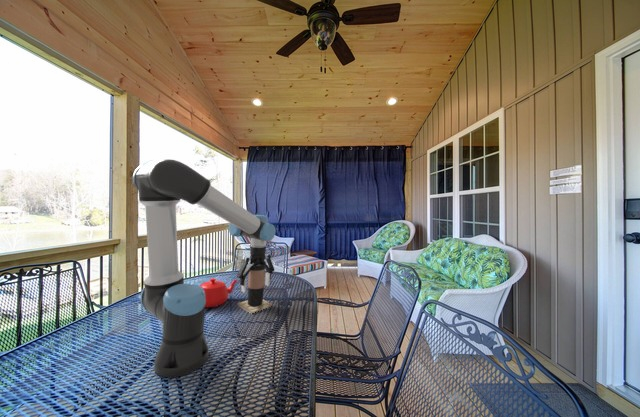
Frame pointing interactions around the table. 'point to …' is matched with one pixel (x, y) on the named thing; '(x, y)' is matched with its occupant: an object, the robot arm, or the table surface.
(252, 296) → the travel mug
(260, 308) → the trivet
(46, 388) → the table surface
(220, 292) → the teapot
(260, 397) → the table surface
